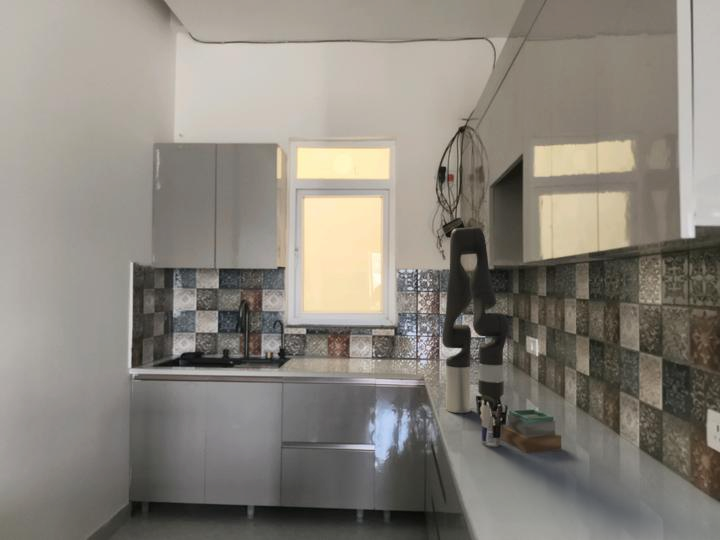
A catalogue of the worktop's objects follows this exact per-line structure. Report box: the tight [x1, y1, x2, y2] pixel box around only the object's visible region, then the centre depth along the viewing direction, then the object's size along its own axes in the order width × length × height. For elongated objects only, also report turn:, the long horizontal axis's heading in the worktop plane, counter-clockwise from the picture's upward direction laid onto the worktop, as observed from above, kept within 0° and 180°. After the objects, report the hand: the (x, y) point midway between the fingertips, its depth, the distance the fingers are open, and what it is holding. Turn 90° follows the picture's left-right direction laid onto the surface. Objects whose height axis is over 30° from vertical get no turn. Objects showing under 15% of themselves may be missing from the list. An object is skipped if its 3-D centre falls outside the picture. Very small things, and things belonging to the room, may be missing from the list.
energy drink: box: [481, 405, 501, 448], centre depth 136 cm, size 5×5×12 cm
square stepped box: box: [501, 408, 562, 454], centre depth 136 cm, size 12×12×9 cm
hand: (491, 434), depth 136 cm, fingers closed on energy drink, 5 cm apart
